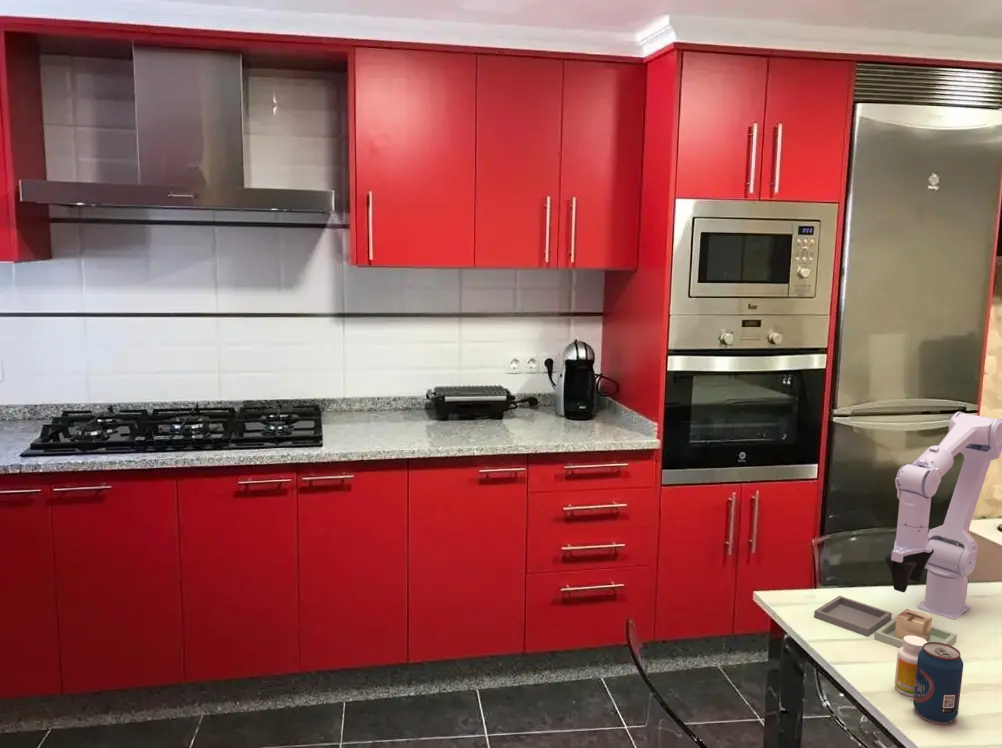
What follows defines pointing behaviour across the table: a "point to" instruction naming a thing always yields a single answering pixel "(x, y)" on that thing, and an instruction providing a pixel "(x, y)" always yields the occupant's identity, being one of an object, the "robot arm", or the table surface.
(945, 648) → the soda can
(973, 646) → the table surface
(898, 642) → the sage tray
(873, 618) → the charcoal tray
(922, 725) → the table surface
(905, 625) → the letter cube
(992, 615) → the table surface
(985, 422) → the robot arm
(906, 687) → the supplement bottle
